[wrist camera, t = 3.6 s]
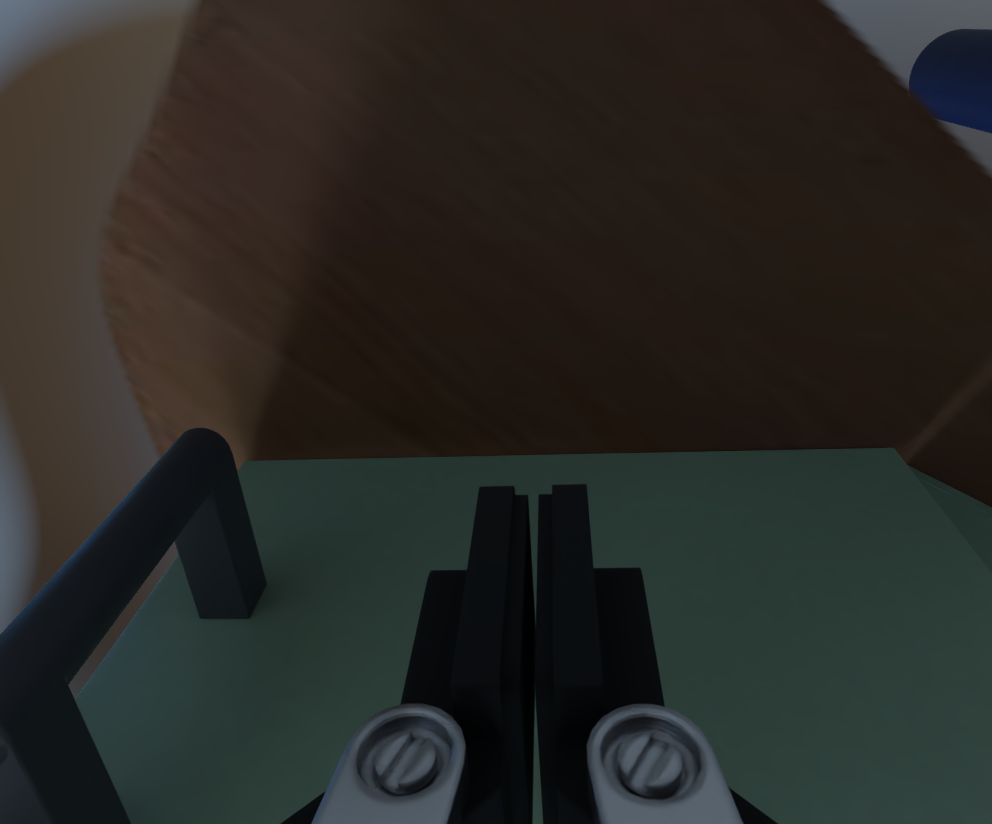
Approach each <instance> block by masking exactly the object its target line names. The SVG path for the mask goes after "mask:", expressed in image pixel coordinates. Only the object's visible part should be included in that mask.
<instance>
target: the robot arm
mask: <svg viewBox="0 0 992 824" xmlns="http://www.w3.org/2000/svg"><path fill="white" fill-rule="evenodd" d="M535 696H536V715H537V731H538V747H539V764H540V780H541V796H542V813H543V824H778V823H777V822H775V821H774V820H772V819H771V818H770V817H768V816H767V815H766V814H764V813H763V812H762V811H760V810H759V809H758V808H756V807H755V806H754V805H752V804H751V803H750V802H748V801H747V800H745V799H744V798H743V797H741V796H740V795H739V794H737V793H736V792H735V791H733V790H732V789H731V788H729V787H728V785H727V782H726V780H725V777H724V775H723V772H722V770H721V768H720V765H719V763H718V760H717V758H716V755H715V753H714V750H713V748H712V746H711V744H710V742H709V741H708V739H707V737H706V736H705V734H704V732H703V731H702V730H701V729H700V728H699V727H698V726H697V725H696V724H695V723H694V722H693V721H691V720H690V719H689V718H688V717H686V716H684V715H682V714H680V713H679V712H677V711H675V710H673V709H671V708H667V707H665V704H664V698H663V692H662V686H661V680H660V674H659V669H658V663H657V657H656V651H655V645H654V639H653V633H652V627H651V622H650V616H649V610H648V604H647V598H646V592H645V586H644V580H643V575H642V571H641V568H640V567H639V568H594V567H593V555H592V543H591V531H590V519H589V506H588V494H587V485H586V484H566V485H552V494H539V497H538V546H537V595H536V624H535V606H534V589H533V571H532V554H531V536H530V519H529V502H528V495H515V488H514V486H480V487H479V491H478V498H477V505H476V512H475V518H474V525H473V532H472V539H471V546H470V552H469V559H468V566H467V570H431V572H430V573H429V576H428V579H427V583H426V588H425V592H424V597H423V602H422V606H421V611H420V616H419V620H418V625H417V629H416V634H415V639H414V643H413V648H412V653H411V657H410V662H409V666H408V671H407V676H406V680H405V685H404V690H403V694H402V699H401V703H400V705H397V706H393V707H389V708H386V709H384V710H382V711H381V712H379V713H377V714H375V715H373V716H371V717H370V718H369V719H368V720H366V721H365V722H364V723H363V724H362V725H361V726H360V727H359V728H358V729H357V730H356V731H355V733H354V734H353V736H352V737H351V739H350V740H349V742H348V744H347V746H346V748H345V750H344V752H343V754H342V757H341V759H340V761H339V763H338V766H337V768H336V770H335V772H334V774H333V777H332V779H331V781H330V783H329V786H328V788H327V790H326V791H325V792H323V793H322V794H321V795H319V796H318V797H317V798H315V799H314V800H312V801H311V802H310V803H308V804H307V805H305V806H304V807H303V808H301V809H300V810H299V811H297V812H296V813H294V814H293V815H292V816H290V817H289V818H288V819H286V820H285V821H283V822H282V823H281V824H533V775H534V723H535Z"/></svg>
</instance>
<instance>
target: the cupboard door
mask: <svg viewBox="0 0 992 824" xmlns="http://www.w3.org/2000/svg"><path fill="white" fill-rule="evenodd" d="M566 484H586V485H587V494H588V506H589V519H590V531H591V543H592V555H593V567H594V568H639V567H640V568H641V571H642V575H643V580H644V586H645V592H646V598H647V604H648V610H649V616H650V622H651V627H652V633H653V639H654V645H655V651H656V657H657V663H658V669H659V674H660V680H661V686H662V692H663V698H664V704H665V707H667V708H671V709H673V710H675V711H677V712H679V713H680V714H682V715H684V716H686V717H688V718H689V719H690V720H691V721H693V722H694V723H695V724H696V725H697V726H698V727H699V728H700V729H701V730H702V731H703V732H704V734H705V736H706V737H707V739H708V741H709V742H710V744H711V746H712V748H713V750H714V753H715V755H716V758H717V760H718V763H719V765H720V768H721V770H722V772H723V775H724V777H725V780H726V782H727V785H728V787H729V788H731V789H732V790H733V791H735V792H736V793H737V794H739V795H740V796H741V797H743V798H744V799H745V800H747V801H748V802H750V803H751V804H752V805H754V806H755V807H756V808H758V809H759V810H760V811H762V812H763V813H764V814H766V815H767V816H768V817H770V818H771V819H772V820H774V821H775V822H777V823H778V824H992V573H991V571H990V570H989V569H988V567H987V566H986V565H985V564H984V562H983V561H982V560H981V559H980V557H979V556H978V555H977V553H976V552H975V551H974V550H973V548H972V547H971V546H970V544H969V543H968V542H967V541H966V539H965V538H964V537H963V536H962V534H961V533H960V532H959V530H958V529H957V528H956V527H955V525H954V524H953V523H952V521H951V520H950V519H949V518H948V516H947V515H946V514H945V513H944V511H943V510H942V509H941V507H940V506H939V505H938V504H937V502H936V501H935V500H934V498H933V497H932V496H931V495H930V493H929V492H928V491H927V490H926V488H925V487H924V486H923V484H922V483H921V482H920V481H919V479H918V478H917V477H916V475H915V474H914V473H913V472H912V470H911V469H910V468H909V466H908V465H907V464H906V463H905V461H904V460H903V459H902V458H901V456H900V455H899V454H898V452H897V451H896V450H895V449H894V448H854V449H804V450H755V451H705V452H656V453H606V454H557V455H507V456H457V457H408V458H358V459H309V460H259V461H245V462H244V463H243V464H242V466H241V467H240V469H239V470H238V471H237V469H236V465H235V461H234V458H233V454H232V451H231V449H230V446H229V444H228V443H227V441H226V440H225V439H224V438H223V437H222V436H221V435H219V434H218V433H216V432H214V431H212V430H210V429H206V428H194V429H190V430H188V431H186V432H184V433H183V434H182V435H181V436H180V437H179V438H178V440H177V441H176V442H175V443H174V444H173V445H172V446H171V447H170V448H169V450H168V451H167V452H166V453H165V454H164V455H163V456H162V457H161V458H160V459H159V461H158V462H157V463H156V464H155V465H154V466H153V467H152V468H151V469H150V471H149V472H148V473H147V474H146V475H145V476H144V477H143V478H142V479H141V480H140V481H139V483H138V484H137V485H136V486H135V487H134V488H133V489H132V490H131V492H129V494H128V495H127V496H126V497H125V498H124V499H123V500H122V501H121V502H120V503H119V505H118V506H117V507H116V508H115V509H114V510H113V511H112V512H111V513H110V514H109V516H108V517H107V518H106V519H105V520H104V521H103V522H102V523H101V524H100V525H99V527H98V528H97V529H96V530H95V531H94V532H93V533H92V534H91V535H90V537H89V538H88V539H87V540H86V541H85V542H84V543H83V544H82V545H81V546H80V547H79V549H78V550H77V551H76V552H75V553H74V554H73V555H72V556H71V557H70V559H69V560H68V561H67V562H66V563H65V564H64V565H63V566H62V567H61V568H60V569H59V571H58V572H57V573H56V574H55V575H54V576H53V577H52V578H51V579H50V581H49V582H48V583H47V584H46V585H45V586H44V587H43V588H42V589H41V590H40V592H39V593H38V594H37V595H36V596H35V597H34V598H33V599H32V600H31V602H30V603H29V604H28V605H27V606H26V607H25V608H24V609H23V610H22V612H21V613H20V614H19V615H18V616H17V617H16V618H15V619H14V620H13V621H12V622H11V623H10V625H9V626H8V627H7V628H6V629H5V630H4V631H3V632H2V633H1V634H0V824H281V823H282V822H283V821H285V820H286V819H288V818H289V817H290V816H292V815H293V814H294V813H296V812H297V811H299V810H300V809H301V808H303V807H304V806H305V805H307V804H308V803H310V802H311V801H312V800H314V799H315V798H317V797H318V796H319V795H321V794H322V793H323V792H325V791H326V790H327V788H328V786H329V783H330V781H331V779H332V777H333V774H334V772H335V770H336V768H337V766H338V763H339V761H340V759H341V757H342V754H343V752H344V750H345V748H346V746H347V744H348V742H349V740H350V739H351V737H352V736H353V734H354V733H355V731H356V730H357V729H358V728H359V727H360V726H361V725H362V724H363V723H364V722H365V721H366V720H368V719H369V718H370V717H371V716H373V715H375V714H377V713H379V712H381V711H382V710H384V709H386V708H389V707H393V706H397V705H400V703H401V699H402V694H403V690H404V685H405V680H406V676H407V671H408V666H409V662H410V657H411V653H412V648H413V643H414V639H415V634H416V629H417V625H418V620H419V616H420V611H421V606H422V602H423V597H424V592H425V588H426V583H427V579H428V576H429V573H430V572H431V570H467V566H468V559H469V552H470V546H471V539H472V532H473V525H474V518H475V512H476V505H477V498H478V491H479V487H480V486H514V488H515V495H528V502H529V519H530V536H531V554H532V571H533V589H534V606H535V624H536V595H537V546H538V497H539V494H552V485H566ZM174 541H175V544H176V547H177V550H178V553H179V554H178V556H177V557H176V558H175V560H174V561H173V563H172V564H171V566H170V567H169V569H168V570H167V571H166V573H165V574H164V575H163V577H162V578H161V580H160V581H159V582H158V584H157V585H156V587H155V588H154V590H153V591H152V592H151V594H150V595H149V597H148V598H147V599H146V601H145V602H144V604H143V605H142V606H141V608H140V609H139V610H138V612H137V613H136V615H135V616H134V617H133V619H132V620H131V622H130V623H129V625H128V626H127V627H126V629H125V630H124V632H123V633H122V634H121V636H120V637H119V639H118V640H117V641H116V643H115V644H114V646H113V647H112V648H111V650H110V651H109V653H108V654H107V656H106V657H105V658H104V660H103V661H102V662H101V664H100V665H99V667H98V668H97V669H96V671H95V672H94V674H93V675H92V676H91V678H90V679H89V681H88V682H87V684H86V685H85V686H84V688H83V689H82V691H81V692H80V693H79V695H78V696H77V698H76V699H74V697H73V695H72V693H71V690H70V688H69V686H68V684H69V683H70V681H71V680H72V679H73V678H74V676H75V675H76V674H77V672H78V671H79V669H80V668H81V667H82V665H83V664H84V663H85V661H86V660H87V659H88V657H89V656H90V655H91V653H92V652H93V650H94V649H95V648H96V646H97V645H98V644H99V642H100V641H101V640H102V638H103V637H104V635H105V634H106V633H107V631H108V630H109V628H110V627H111V626H112V625H113V623H114V622H115V621H116V619H117V618H118V617H119V615H120V614H121V613H122V611H123V610H124V609H125V607H126V605H127V604H128V603H129V602H130V600H131V599H132V598H133V596H134V595H135V593H136V592H137V591H138V590H139V588H140V587H141V585H142V584H143V583H144V581H145V580H146V579H147V577H148V576H149V575H150V573H151V572H152V571H153V569H154V568H155V566H156V565H157V564H158V562H159V561H160V560H161V558H162V557H163V556H164V554H165V553H166V551H167V550H168V548H169V547H170V546H171V545H172V543H173V542H174ZM533 824H543V813H542V796H541V780H540V764H539V747H538V731H537V715H536V696H535V723H534V775H533Z"/></svg>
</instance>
